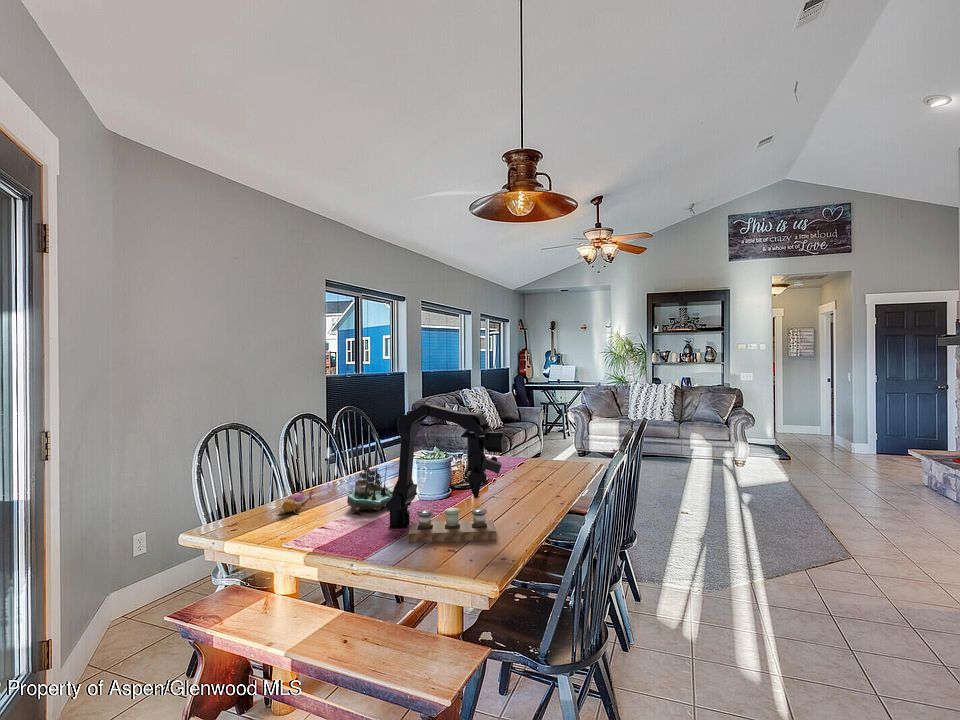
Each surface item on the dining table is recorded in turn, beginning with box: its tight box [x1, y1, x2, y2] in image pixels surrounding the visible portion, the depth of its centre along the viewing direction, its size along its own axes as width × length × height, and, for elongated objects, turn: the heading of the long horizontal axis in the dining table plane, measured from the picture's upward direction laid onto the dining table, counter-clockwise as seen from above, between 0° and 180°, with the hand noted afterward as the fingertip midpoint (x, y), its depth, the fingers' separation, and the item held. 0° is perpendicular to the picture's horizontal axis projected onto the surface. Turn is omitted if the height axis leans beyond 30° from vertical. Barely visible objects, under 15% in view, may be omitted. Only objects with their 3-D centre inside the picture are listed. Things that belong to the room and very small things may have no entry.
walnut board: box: [407, 519, 497, 544], centre depth 176 cm, size 28×12×3 cm, turn 92°
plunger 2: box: [471, 507, 488, 526], centre depth 176 cm, size 5×5×5 cm
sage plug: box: [444, 507, 461, 526], centre depth 176 cm, size 5×5×5 cm
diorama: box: [346, 463, 393, 512], centre depth 213 cm, size 19×25×19 cm
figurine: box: [277, 489, 314, 516], centre depth 213 cm, size 12×7×30 cm
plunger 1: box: [416, 509, 433, 528], centre depth 175 cm, size 5×5×5 cm
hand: (476, 498), depth 176 cm, fingers closed
